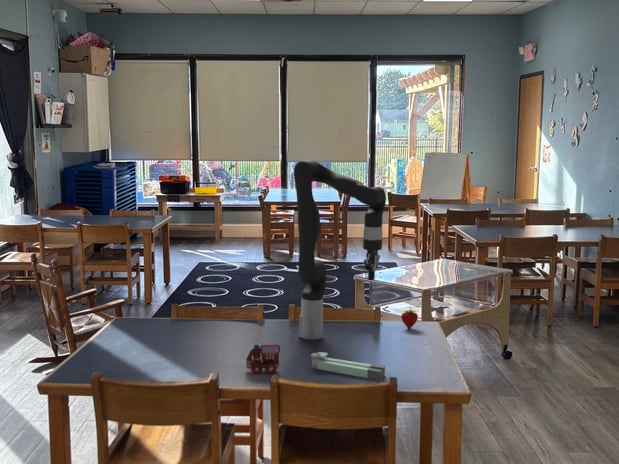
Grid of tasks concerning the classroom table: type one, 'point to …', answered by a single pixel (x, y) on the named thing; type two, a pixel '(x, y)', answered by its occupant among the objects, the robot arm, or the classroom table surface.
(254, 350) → the toy fire truck
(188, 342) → the classroom table surface
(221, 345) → the classroom table surface
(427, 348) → the classroom table surface
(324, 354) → the tongs arm
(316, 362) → the bar
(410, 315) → the strawberry
